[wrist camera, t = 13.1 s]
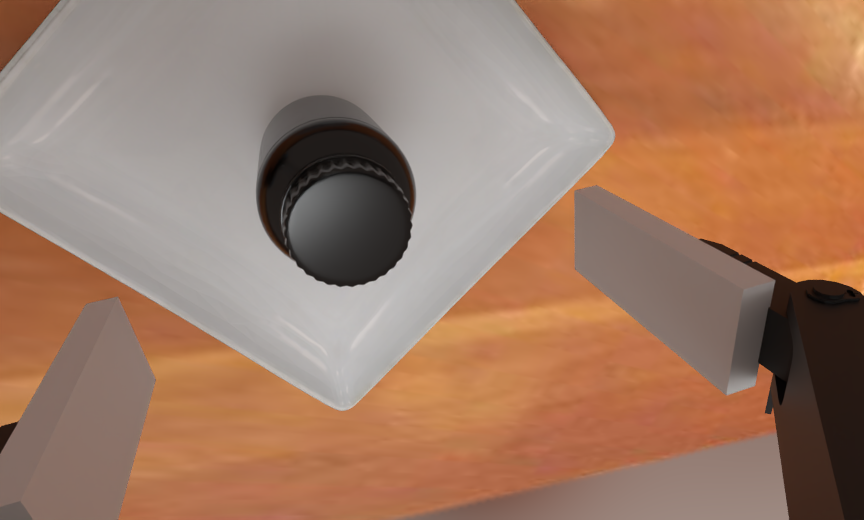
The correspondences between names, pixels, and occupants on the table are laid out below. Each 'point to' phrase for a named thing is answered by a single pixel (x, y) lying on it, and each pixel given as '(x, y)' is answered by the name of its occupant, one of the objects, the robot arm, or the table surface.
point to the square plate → (240, 145)
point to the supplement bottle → (334, 191)
